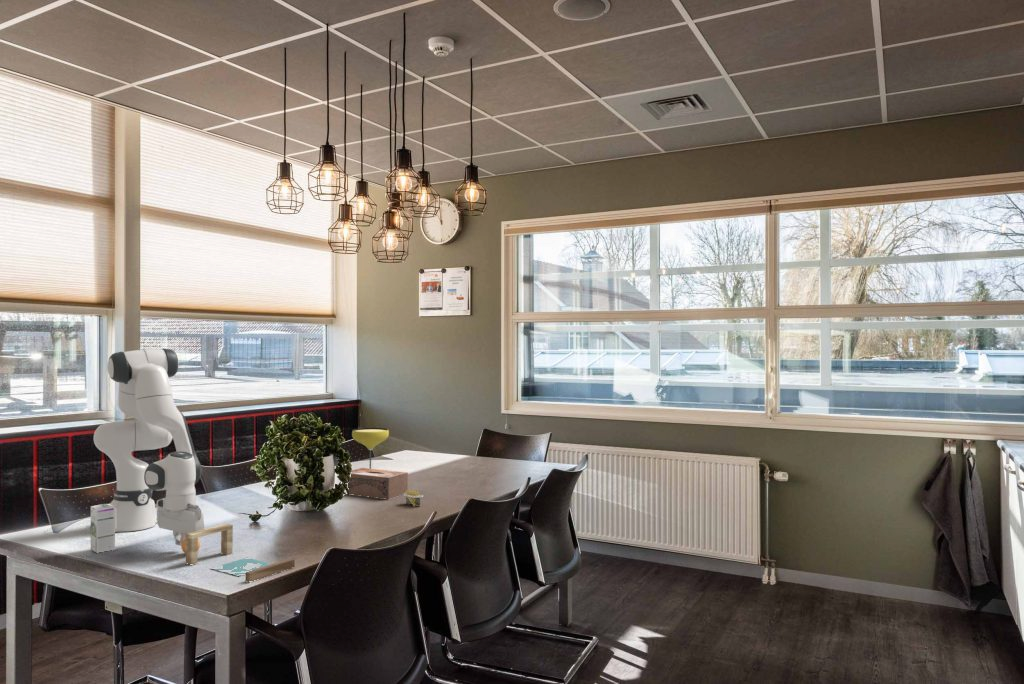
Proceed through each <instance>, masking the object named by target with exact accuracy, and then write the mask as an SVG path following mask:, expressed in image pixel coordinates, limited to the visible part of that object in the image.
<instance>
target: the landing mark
mask: <svg viewBox="0 0 1024 684" xmlns="http://www.w3.org/2000/svg"><path fill="white" fill-rule="evenodd" d="M245 558H246V557H243V558H241V559H237V560H235V561H231V562H227V563H224V564H221V565H222V566H223V569H214V570H213V571H215V570H232V569H234V568H235V567H237V569H234V570H232V571H231V572H241V571H250V570H255V569H258V568H256V567H255V568H252V569H250V570H246V569H243V566H244V567H245V566H246V565H247V563H253V564H257V563H260V564H262V565H261V566H260V567H259V568H261V567H264V566H268V563H269V562H266V561H262V560H259V559H256V558H255V559H254V558H251V559H245ZM271 564H272V563H271ZM271 564H269V565H271ZM240 567H241V568H240ZM226 573H228V572H226ZM226 573H225V574H226ZM239 574H246V573H235V574H233V575H232V576H234V575H239ZM239 577H242V576H241V575H239Z"/></svg>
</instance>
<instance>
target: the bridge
mask: <svg viewBox="0 0 1024 684" xmlns="http://www.w3.org/2000/svg"><path fill="white" fill-rule="evenodd" d="M233 530H234V527H233V524H229V523H224V524H220V525H216V526H212V527H208V528H204V529H203V530H199V531H195V532H191V533H187V534H186V553H185V564H186V563H188V564H194V565H196V564H195V563H197V564H198V558H199V557H198V554H199V550H198V540H199V538H202V537H205V536H209V535H213V534H214V535H215V534H218V533H220V535H221V536H220V538H221V539H220V554H221V553H223V554H222V555H225V554H227V555H226V556H229V555H232V554H233V541H234V540H233V537H234V536H233V534H234V532H233ZM231 553H232V554H231ZM228 554H229V555H228ZM188 564H187V565H188Z"/></svg>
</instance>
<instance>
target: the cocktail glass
mask: <svg viewBox="0 0 1024 684" xmlns="http://www.w3.org/2000/svg"><path fill="white" fill-rule="evenodd" d="M389 435H390V431H389V429H387V428H385V427H384V428H382V427H361V428H360V427H359V428H354V429H352V432H351V437H352V439H353V440H354V441H356V442H357V443H359V444H361V445H363V446H365V447H366V448H367V450H368V451H369V469H372V451H373V450H374V448H375V447H376V446H377V445H379V444H380V443H384V441H386V440H387V439H388V438H389Z"/></svg>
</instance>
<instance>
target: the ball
mask: <svg viewBox="0 0 1024 684" xmlns="http://www.w3.org/2000/svg"><path fill="white" fill-rule="evenodd" d="M200 548H201V541H200V539H198V551H199V549H200ZM181 551H182V552H183V553H184V554H186V539H185V540H184V541H183V542H182V545H181Z"/></svg>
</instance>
